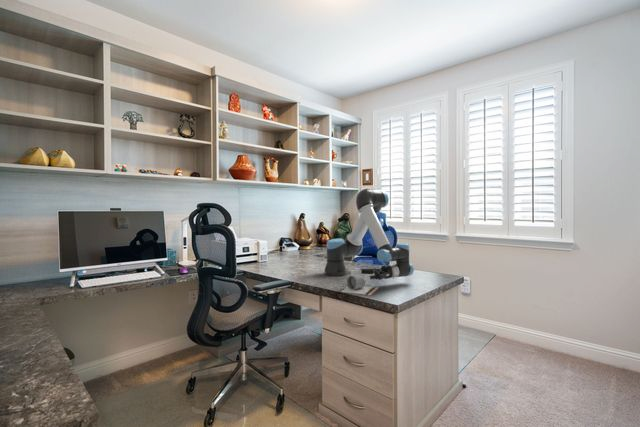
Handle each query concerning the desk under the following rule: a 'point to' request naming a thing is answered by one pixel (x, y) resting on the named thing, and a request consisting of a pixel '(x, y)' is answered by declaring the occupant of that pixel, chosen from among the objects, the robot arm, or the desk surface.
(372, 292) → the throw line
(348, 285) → the ceramic mug
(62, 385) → the desk surface
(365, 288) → the pad
